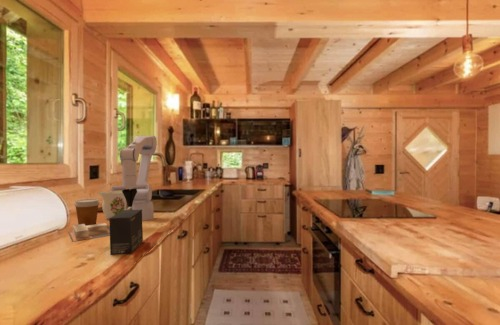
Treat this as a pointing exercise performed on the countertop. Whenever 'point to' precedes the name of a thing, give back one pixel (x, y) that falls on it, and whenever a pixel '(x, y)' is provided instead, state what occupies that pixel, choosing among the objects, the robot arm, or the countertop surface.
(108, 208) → the pitcher
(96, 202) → the disposable coffee cup
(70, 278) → the countertop surface
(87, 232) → the t block
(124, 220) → the small box
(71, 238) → the mat
